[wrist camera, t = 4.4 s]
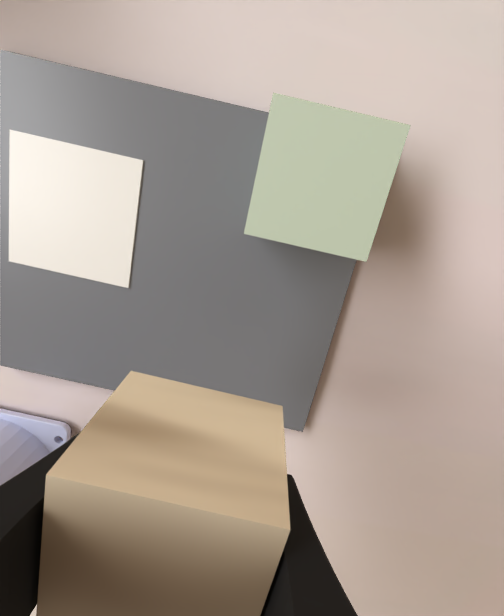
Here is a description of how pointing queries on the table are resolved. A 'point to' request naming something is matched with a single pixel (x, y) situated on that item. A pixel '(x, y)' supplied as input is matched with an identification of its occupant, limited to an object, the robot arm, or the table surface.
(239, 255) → the baseplate
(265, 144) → the sage block
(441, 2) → the table surface
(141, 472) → the maple block
